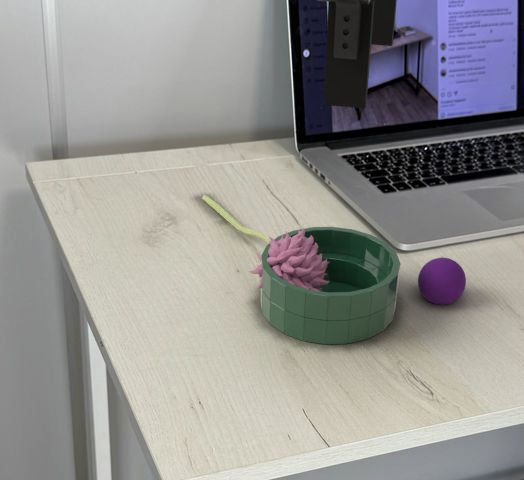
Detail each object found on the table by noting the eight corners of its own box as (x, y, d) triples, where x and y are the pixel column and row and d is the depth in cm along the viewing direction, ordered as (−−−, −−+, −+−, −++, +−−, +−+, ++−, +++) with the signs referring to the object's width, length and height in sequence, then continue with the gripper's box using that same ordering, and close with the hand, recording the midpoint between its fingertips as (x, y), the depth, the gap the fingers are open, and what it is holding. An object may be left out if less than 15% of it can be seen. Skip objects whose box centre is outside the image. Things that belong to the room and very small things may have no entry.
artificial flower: (166, 235, 90) (272, 329, 70) (170, 167, 87) (282, 245, 67) (226, 233, 93) (344, 323, 73) (232, 167, 90) (357, 242, 70)
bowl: (401, 286, 78) (407, 235, 75) (384, 358, 69) (390, 305, 66) (278, 269, 80) (279, 219, 77) (246, 337, 71) (246, 284, 68)
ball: (463, 292, 77) (470, 252, 75) (460, 316, 74) (467, 276, 72) (417, 286, 78) (423, 246, 75) (412, 310, 75) (418, 269, 72)
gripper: (357, -299, 61) (339, 19, 73) (272, -306, 41) (268, 131, 53) (467, -298, 59) (430, 26, 72) (435, -305, 40) (391, 144, 52)
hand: (361, 72), depth 63 cm, fingers open, 13 cm apart
